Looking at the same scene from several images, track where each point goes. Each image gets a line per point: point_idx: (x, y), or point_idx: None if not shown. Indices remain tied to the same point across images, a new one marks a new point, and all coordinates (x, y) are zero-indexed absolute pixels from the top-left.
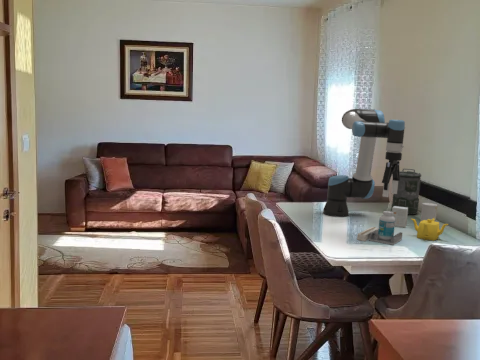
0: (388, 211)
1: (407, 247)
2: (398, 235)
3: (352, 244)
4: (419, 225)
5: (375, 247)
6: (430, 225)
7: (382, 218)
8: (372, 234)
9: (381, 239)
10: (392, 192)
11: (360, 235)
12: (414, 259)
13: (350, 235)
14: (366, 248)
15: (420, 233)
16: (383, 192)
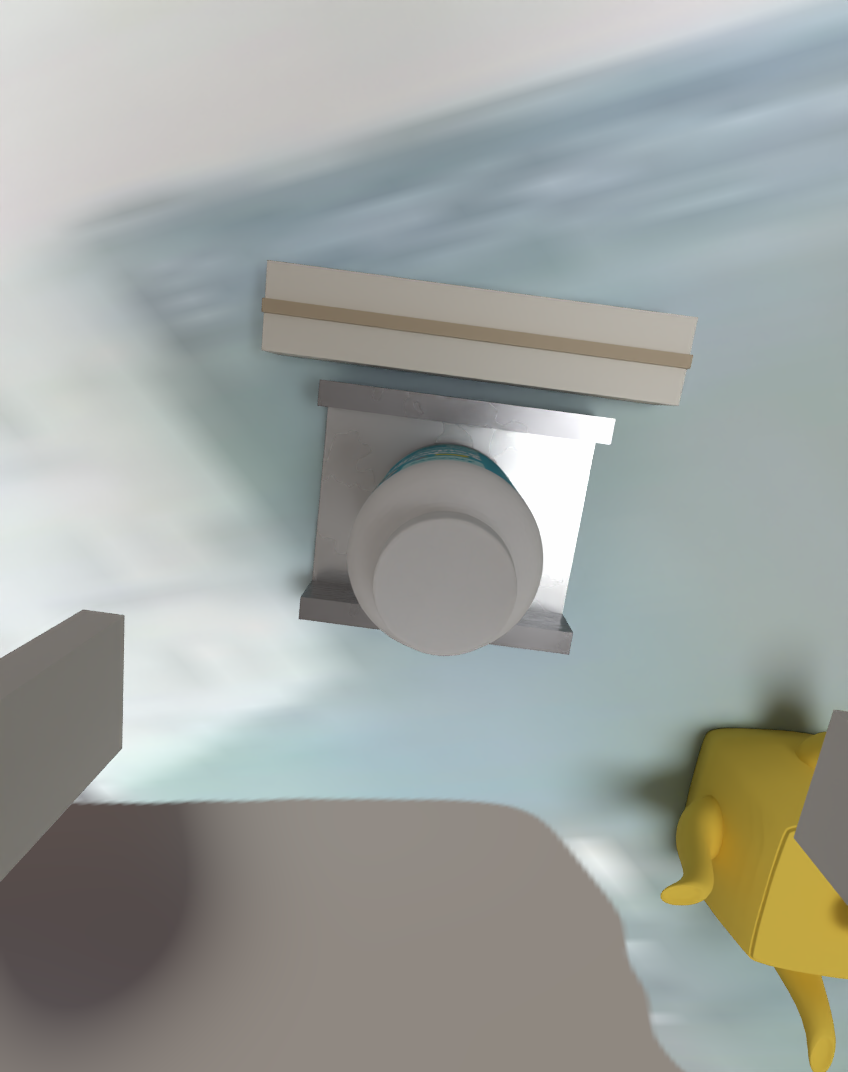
0: (482, 589)
1: (313, 701)
2: None
3: (81, 280)
4: (765, 810)
5: (128, 483)
6: (750, 915)
7: (361, 514)
8: (335, 407)
9: None
10: (841, 756)
11: (268, 296)
12: None
13: (421, 163)
14: (40, 424)
15: (715, 777)
16: (4, 675)
